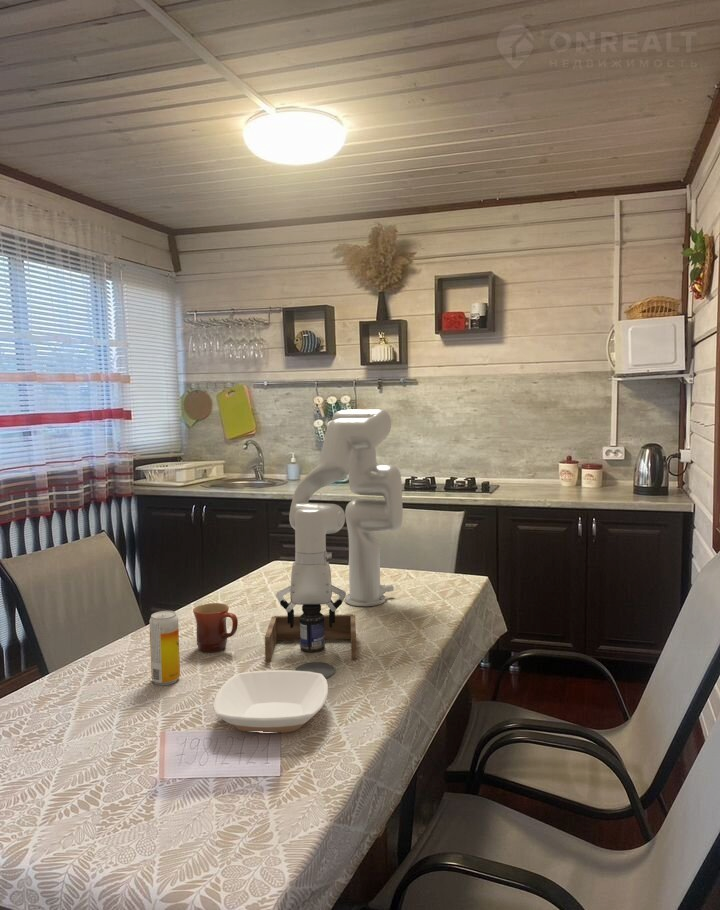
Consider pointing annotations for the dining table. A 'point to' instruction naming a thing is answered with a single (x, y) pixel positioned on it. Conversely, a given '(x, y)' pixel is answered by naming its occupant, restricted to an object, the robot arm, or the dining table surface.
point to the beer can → (164, 647)
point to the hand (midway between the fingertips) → (311, 626)
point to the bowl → (271, 700)
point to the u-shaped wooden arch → (282, 631)
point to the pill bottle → (312, 628)
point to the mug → (213, 626)
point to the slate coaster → (318, 668)
